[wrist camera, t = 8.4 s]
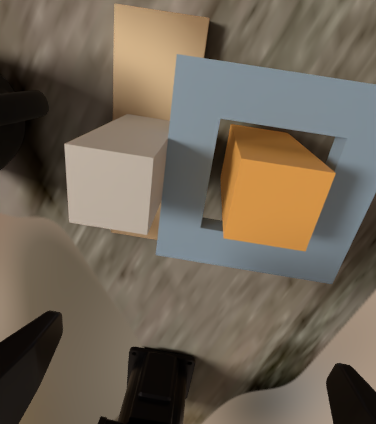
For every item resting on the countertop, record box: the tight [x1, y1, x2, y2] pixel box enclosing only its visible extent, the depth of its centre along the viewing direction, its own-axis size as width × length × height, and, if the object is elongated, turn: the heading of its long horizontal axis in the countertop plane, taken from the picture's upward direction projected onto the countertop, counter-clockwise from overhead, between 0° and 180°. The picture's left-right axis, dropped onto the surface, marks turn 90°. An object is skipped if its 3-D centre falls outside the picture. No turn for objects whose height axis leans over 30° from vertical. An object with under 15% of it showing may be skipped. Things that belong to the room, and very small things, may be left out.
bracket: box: [64, 54, 376, 284], centre depth 14 cm, size 10×13×8 cm
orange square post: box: [220, 124, 336, 251], centre depth 15 cm, size 4×4×8 cm
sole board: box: [111, 4, 210, 240], centre depth 18 cm, size 14×5×1 cm, turn 172°
